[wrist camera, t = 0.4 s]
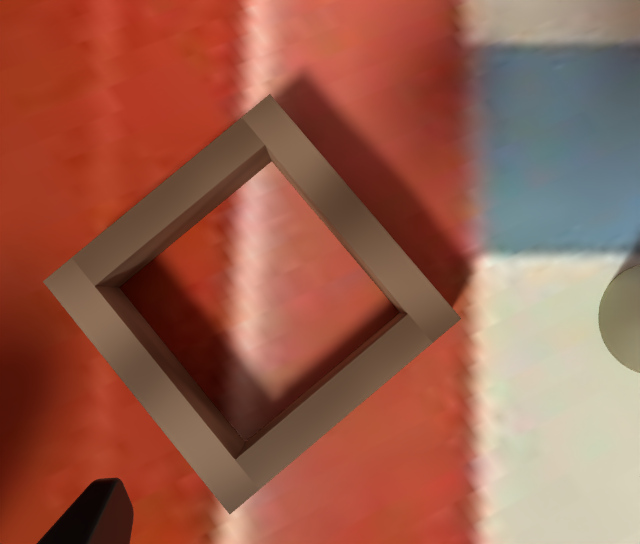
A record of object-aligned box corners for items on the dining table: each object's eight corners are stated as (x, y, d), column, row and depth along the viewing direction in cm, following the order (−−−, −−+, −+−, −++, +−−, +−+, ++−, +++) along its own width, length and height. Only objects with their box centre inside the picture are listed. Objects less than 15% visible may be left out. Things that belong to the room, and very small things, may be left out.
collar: (446, 316, 23) (461, 318, 21) (240, 491, 23) (229, 514, 21) (275, 115, 24) (269, 94, 22) (72, 283, 24) (42, 281, 21)
